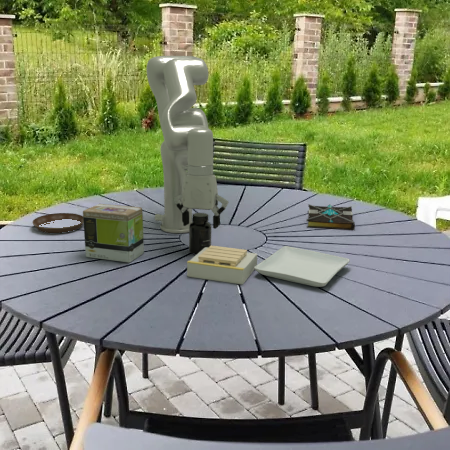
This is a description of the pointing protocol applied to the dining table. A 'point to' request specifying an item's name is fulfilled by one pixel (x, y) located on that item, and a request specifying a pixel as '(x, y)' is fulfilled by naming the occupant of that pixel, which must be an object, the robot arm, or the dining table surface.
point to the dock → (222, 264)
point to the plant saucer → (57, 216)
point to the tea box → (113, 232)
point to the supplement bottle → (199, 233)
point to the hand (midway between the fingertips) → (201, 226)
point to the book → (330, 217)
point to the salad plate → (302, 266)
